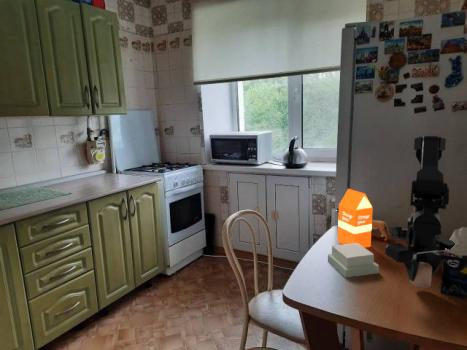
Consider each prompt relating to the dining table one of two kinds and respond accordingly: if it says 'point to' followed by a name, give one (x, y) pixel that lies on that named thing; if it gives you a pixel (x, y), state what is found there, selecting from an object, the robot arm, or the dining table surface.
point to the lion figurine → (381, 228)
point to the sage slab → (353, 268)
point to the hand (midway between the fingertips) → (420, 279)
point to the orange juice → (355, 219)
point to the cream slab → (352, 254)
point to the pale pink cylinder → (423, 276)
